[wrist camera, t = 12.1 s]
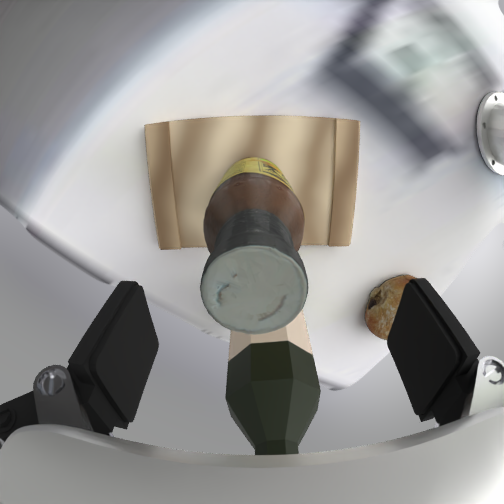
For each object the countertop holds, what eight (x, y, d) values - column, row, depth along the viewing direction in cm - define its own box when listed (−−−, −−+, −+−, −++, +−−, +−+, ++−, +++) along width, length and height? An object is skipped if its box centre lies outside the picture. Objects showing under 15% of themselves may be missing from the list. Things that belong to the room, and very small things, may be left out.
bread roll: (381, 257, 38) (381, 280, 31) (439, 280, 35) (449, 307, 28) (358, 311, 42) (351, 340, 35) (411, 331, 39) (413, 362, 32)
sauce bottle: (291, 202, 29) (351, 339, 11) (235, 220, 30) (216, 374, 12) (272, 144, 26) (319, 197, 8) (213, 165, 27) (142, 258, 9)
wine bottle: (284, 324, 38) (309, 548, 11) (226, 311, 37) (205, 550, 10) (308, 276, 35) (374, 535, 8) (243, 258, 34) (233, 554, 7)
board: (355, 120, 26) (361, 121, 24) (346, 239, 32) (351, 246, 31) (149, 124, 26) (143, 125, 25) (162, 242, 33) (158, 249, 31)
